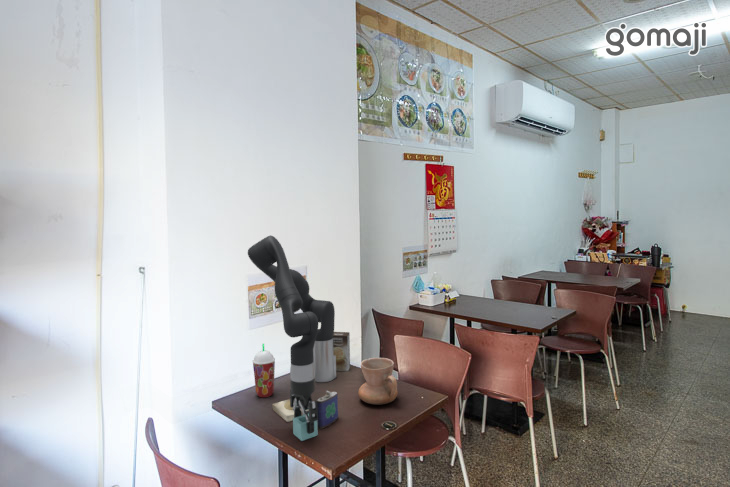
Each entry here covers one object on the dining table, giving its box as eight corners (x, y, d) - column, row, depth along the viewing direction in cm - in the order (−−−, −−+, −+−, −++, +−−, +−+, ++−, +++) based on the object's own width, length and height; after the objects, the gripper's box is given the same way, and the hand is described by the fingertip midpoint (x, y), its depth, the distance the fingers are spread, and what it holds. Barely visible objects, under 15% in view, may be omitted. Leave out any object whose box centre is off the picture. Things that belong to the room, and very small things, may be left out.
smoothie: (278, 390, 167) (277, 340, 166) (272, 399, 159) (270, 347, 158) (258, 390, 168) (256, 340, 167) (250, 399, 160) (248, 347, 159)
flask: (334, 416, 144) (333, 385, 144) (340, 418, 143) (340, 387, 142) (315, 427, 137) (314, 395, 136) (322, 429, 135) (321, 397, 135)
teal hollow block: (309, 428, 136) (308, 413, 136) (317, 435, 132) (317, 419, 132) (293, 433, 133) (292, 418, 133) (301, 441, 129) (301, 425, 128)
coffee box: (327, 371, 187) (326, 335, 187) (331, 365, 194) (329, 331, 193) (348, 371, 186) (347, 335, 185) (350, 366, 193) (349, 331, 192)
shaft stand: (302, 400, 158) (302, 376, 157) (318, 411, 148) (318, 386, 147) (272, 409, 151) (271, 384, 150) (287, 422, 141) (286, 395, 140)
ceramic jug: (348, 398, 158) (347, 361, 158) (378, 388, 167) (377, 352, 166) (379, 415, 144) (378, 374, 143) (410, 403, 153) (409, 364, 152)
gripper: (324, 380, 128) (325, 432, 129) (302, 367, 139) (304, 415, 140) (302, 386, 123) (303, 440, 124) (281, 372, 135) (283, 422, 136)
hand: (304, 427), depth 132 cm, fingers open, 8 cm apart
